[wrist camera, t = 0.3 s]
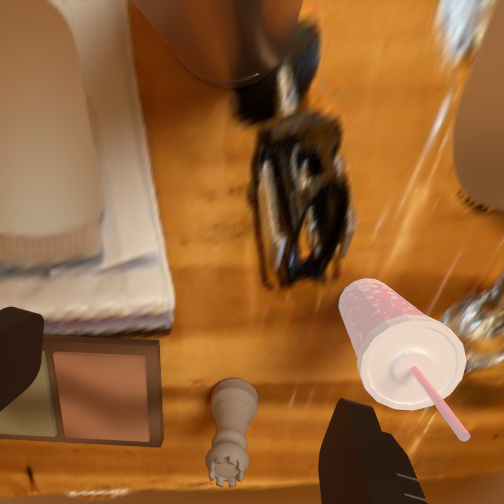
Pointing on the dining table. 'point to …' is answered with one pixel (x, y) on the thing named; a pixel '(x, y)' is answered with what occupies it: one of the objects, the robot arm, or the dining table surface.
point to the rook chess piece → (231, 430)
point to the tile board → (91, 394)
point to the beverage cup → (402, 350)
